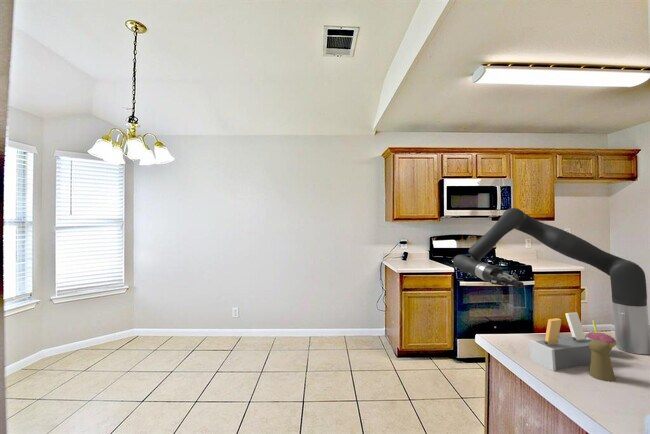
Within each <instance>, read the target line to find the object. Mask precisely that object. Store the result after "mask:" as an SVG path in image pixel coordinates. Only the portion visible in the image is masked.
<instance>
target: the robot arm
mask: <svg viewBox="0 0 650 434" xmlns="http://www.w3.org/2000/svg"><path fill="white" fill-rule="evenodd" d="M513 230H516V231H518V232H522V233H524V234H527V235H529V236H531V237H532V238H534V239H536V240H537V241H539V242H540V243H541V244H543V246H547V247H548V248H550V249H551V250H553V251H554V252H557V253H559V254H561V255H563V256H566V257H568V258H570V259H573V260H575V261H578V262H581V263H584V264H586V265H590V266H591V267H593V268H596V269H597V270H599V271H601V272H603V273H604V274H606V275H607V276H609V279H610V287H611V289H610V290H611V291H610V292H611V303H612V312H613V313H612V315H613V324H614V335H615V337H614V339H615V340H616V343H617V345H616V346H615V347H616V348H617V349H619V350H621V351H624V352H626V353H627V352H628V353H631V354H638V355H650V322H649V313H648V312H649V311H648V302H647V301H648V293H647V280H646V273H645V271H644V269H643V268H642V267H641V266H640V265H639V264H638V263H635V262H633V261H632V260H629V259H628V260H627V259H624V258H622V257H619V256H616V255H614V254H612V253H609V252H607V251H604V250H602V249H601V248H598V247H597V246H595V245H593V244H592V243H590V242H589V241H587V240H584V239H583V238H581V237H579V236H577V235H575V234H573V233H570V232H569V231H566V230H565V229H562V228H559V227H556V226H553V225H550V224H547V223H544V222H541V221H539V220H537V219H535V218H533V217H532V216H530V215H528V214H527V213H526V212H525V211H523V210H522V209H519V208H515V207H510V208H507V209H505V211H504V212H503V213H502V214H501V216H500V217H499V219H498V220H497V221H496V222H495V223H494V224H493V226H492V227H491V228H490V229H489V230H488V231H487V232H486V233H485V234H484V235H483V236H481V237H480V238H479V239H478V240H476V242H475V243H474V244H472V245H471V246H470V247H469V249H468V254H469V255H470V256H467V255H465V254H457V255H455V256H454V257H453V260H452V263H453V266H454V267H456V269H458V270H460V271H462V272H463V273H464V274H465V273H466V274H468V273H469V274H470V275H473V276H474V277H477V278H479V279H481V280H483V281H485V282H488V283H489V284H491V285H495V286H504V287H508V286H510V287H515V288H518V289H523V288H525V287H524V285H525V284H524V282H522V281H520V280H519V276H518V274H517V273H513V274H511V275H510V274H509V273H506V272H504V271H503V269H501V268H500V267H498V266H495V265H492V264H489V263H484V262H482V261H481V260H482V258H484V257H485V256H486V255H487V254H488V253H489V252H490V251H491V250H492V249H494V247H495V246H496V245H497V244H498V242H499V241H500V240H501V239H503V237H504V236H506V235H507V234H508V233H510V232H512V231H513Z"/></svg>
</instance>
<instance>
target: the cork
mask: <svg viewBox="0 0 650 434" xmlns="http://www.w3.org/2000/svg"><path fill="white" fill-rule="evenodd" d="M589 348H590V349H591V363H590V365H589V376H590V377H592V378H594V379H596V380H599V381H602V382H608V381H609V383H610V382H611V381H613V382H615V381H616V377H615V376H616V375H615V372H614V367H613V364H612V361H611V357H610V355H609V353H610V352H612V350H611V347H610V345H609V344H608V343H606V342H604V341H600V340H591V341H590V342H589ZM610 354H611V353H610ZM611 383H612V382H611Z"/></svg>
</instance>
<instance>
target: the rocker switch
mask: <svg viewBox="0 0 650 434" xmlns="http://www.w3.org/2000/svg"><path fill="white" fill-rule="evenodd" d="M564 314H565V318H566V320H567V324H568V328H569V329H570V334H571V337H572V338H573V340H583V339H586V334H585V331H584V328H583V325H582V322H581V319H580V317H579V313H578V312H577V311H576V312H567V313H564Z"/></svg>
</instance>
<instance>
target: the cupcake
mask: <svg viewBox="0 0 650 434" xmlns="http://www.w3.org/2000/svg"><path fill="white" fill-rule="evenodd" d="M592 326H593V330H594V331H592V332H588V333H587V334H585V336H586V337H587V338H590V339H593V340H600V341H604V342H606V343H608V344H609V345H610V347H611V352H612V350H613V348H615V347H616V345H617V343H616V338H615V337H612V336H611V335H610V334H607V333H603V332H598V329H597V325H596V321H595V320H594V318H592ZM611 352H610V353H609V356H610V355H611Z"/></svg>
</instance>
